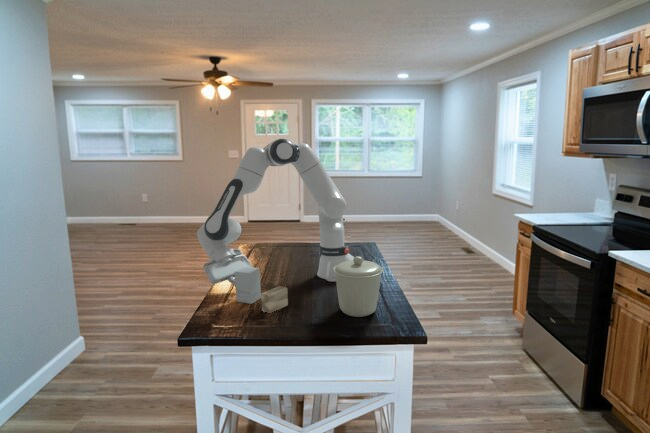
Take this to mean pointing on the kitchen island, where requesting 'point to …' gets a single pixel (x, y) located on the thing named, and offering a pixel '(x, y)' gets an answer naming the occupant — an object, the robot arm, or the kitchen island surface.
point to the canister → (358, 286)
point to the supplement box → (247, 284)
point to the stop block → (274, 299)
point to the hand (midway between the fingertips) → (239, 285)
